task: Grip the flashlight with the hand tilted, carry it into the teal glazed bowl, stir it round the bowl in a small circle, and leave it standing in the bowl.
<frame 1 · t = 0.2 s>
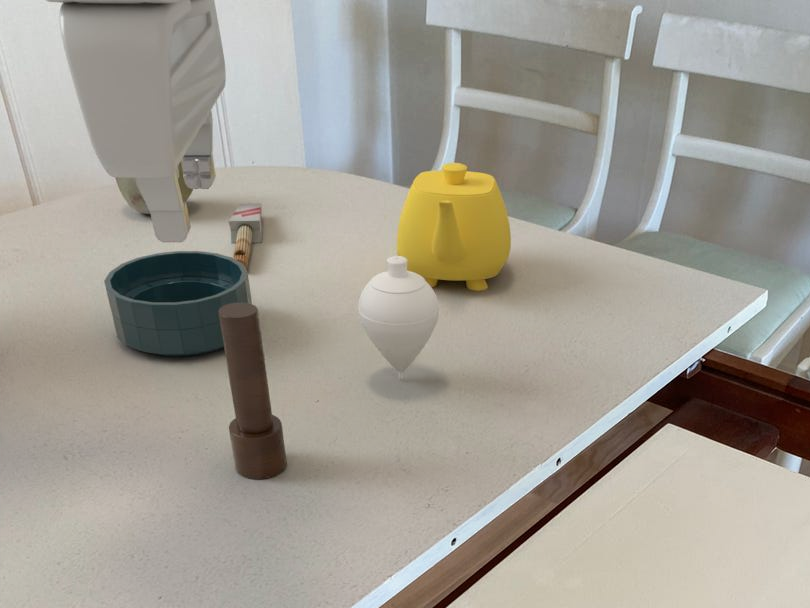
hand: (188, 210, 60), 25 cm above the table, tool pointing down, fingers open, 8 cm apart
teapot: (453, 279, 117), on the table
bowl: (187, 331, 104), on the table
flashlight: (261, 465, 85), on the table
spinning top: (401, 381, 97), on the table
fruit: (161, 212, 132), on the table
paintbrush: (246, 245, 124), on the table
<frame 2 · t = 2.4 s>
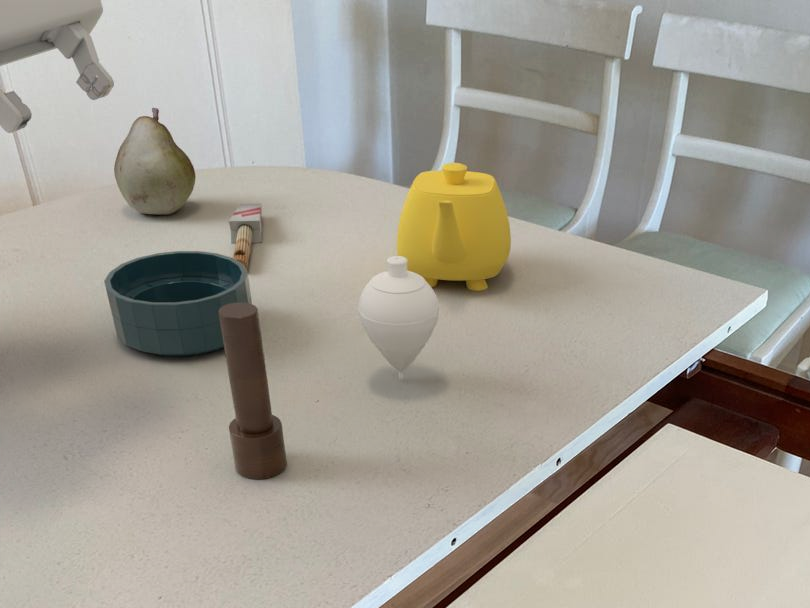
hand: (65, 108, 70), 27 cm above the table, tool tilted 45°, fingers open, 8 cm apart
nothing on the table moved.
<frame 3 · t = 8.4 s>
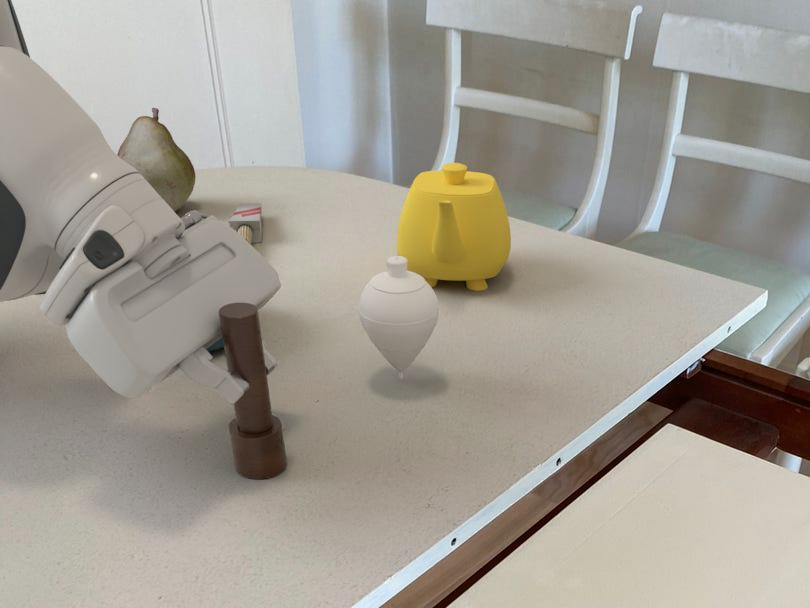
hand: (255, 385, 79), 8 cm above the table, tool tilted 45°, fingers closed on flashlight, 3 cm apart
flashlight: (261, 465, 85), on the table, touching gripper
everything else where it was.
when the fingers open (9 cm above the table, at t = 21.5 s): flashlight stays where it is, resting on bowl.
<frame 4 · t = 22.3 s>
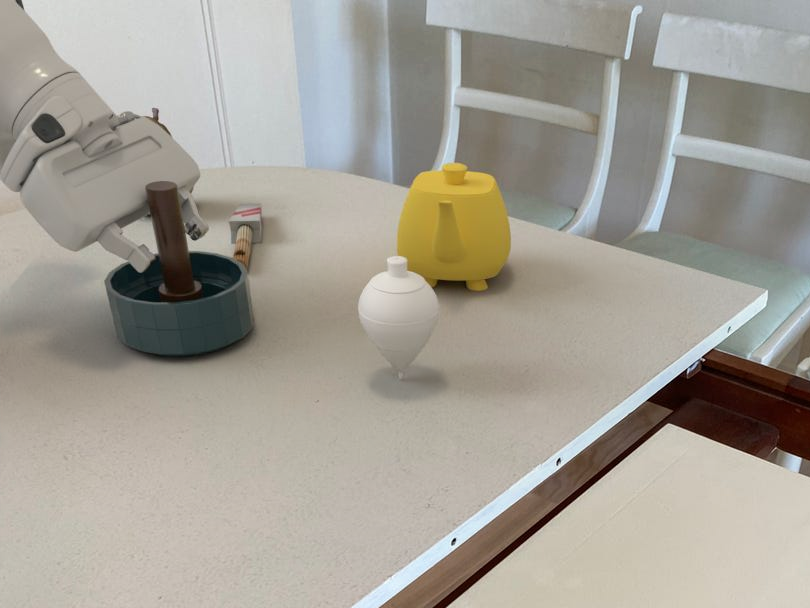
hand: (176, 250, 98), 9 cm above the table, tool tilted 45°, fingers open, 8 cm apart
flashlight: (186, 324, 104), point 1 cm above the table, touching bowl
everything else where it was.
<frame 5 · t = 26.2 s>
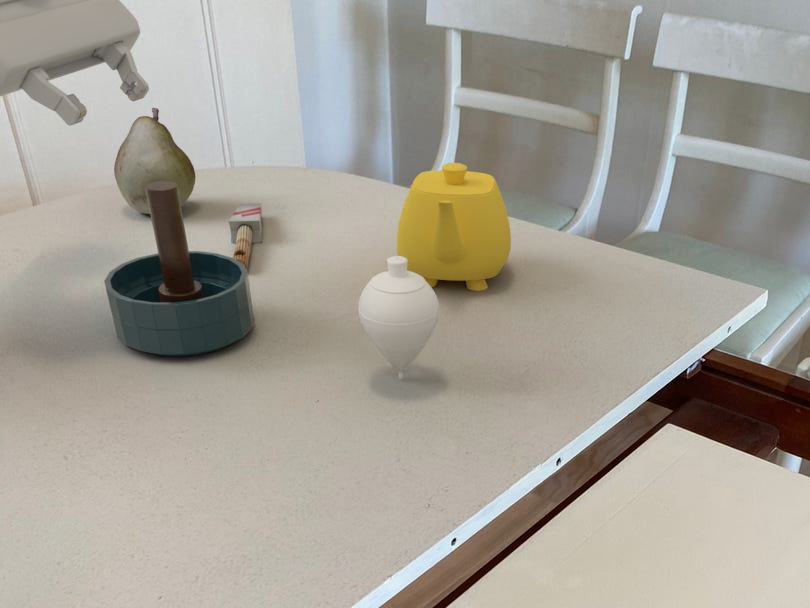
hand: (111, 107, 91), 21 cm above the table, tool tilted 45°, fingers open, 8 cm apart
nothing on the table moved.
at the end: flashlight inside the target area in the bowl (0.2 cm from its centre), point 0.8 cm above the bowl's base; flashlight tilted 0°; the gripper is holding nothing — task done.
